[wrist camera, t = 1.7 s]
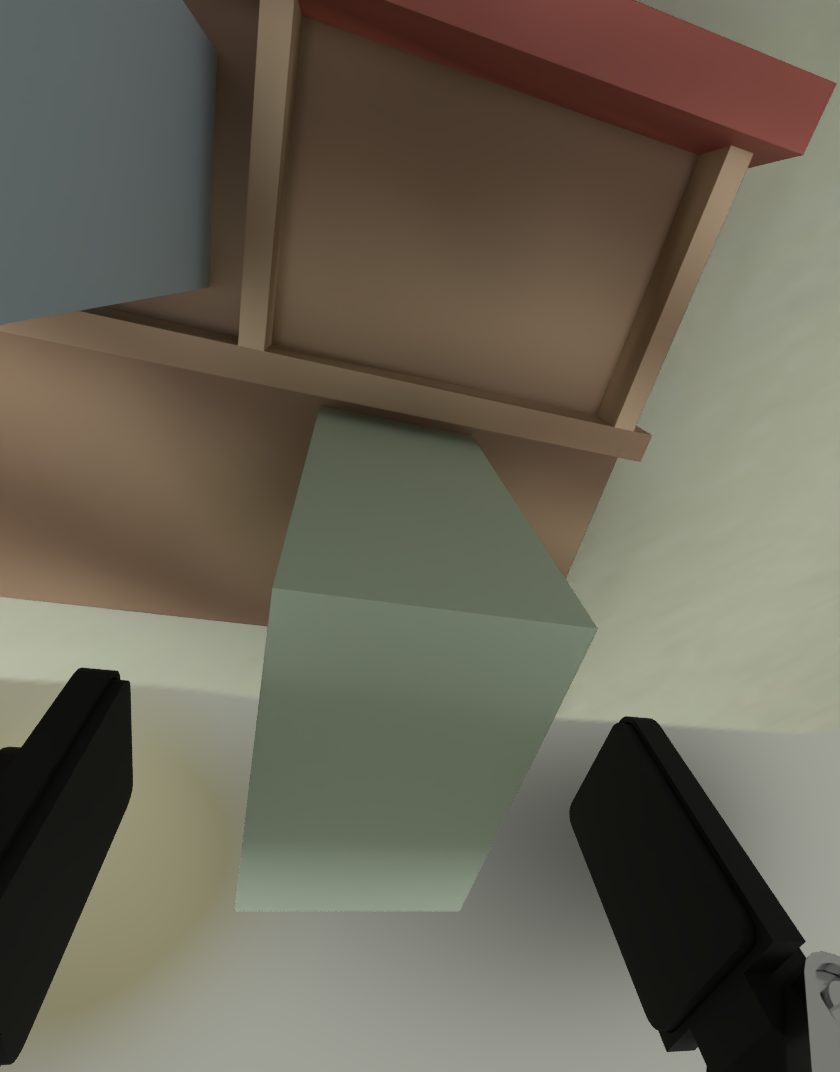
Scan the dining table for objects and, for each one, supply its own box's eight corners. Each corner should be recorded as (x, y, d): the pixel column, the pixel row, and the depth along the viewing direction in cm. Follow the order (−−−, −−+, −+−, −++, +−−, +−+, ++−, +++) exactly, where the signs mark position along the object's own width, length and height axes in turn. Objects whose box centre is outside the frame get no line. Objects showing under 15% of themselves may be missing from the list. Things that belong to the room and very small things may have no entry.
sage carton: (477, 437, 15) (607, 629, 7) (420, 633, 18) (466, 911, 11) (319, 405, 14) (272, 587, 6) (289, 618, 17) (234, 911, 10)
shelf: (-389, -311, 8) (-705, -552, 6) (743, 117, 13) (837, 83, 10) (-124, 566, 16) (-213, 622, 13) (526, 642, 20) (549, 694, 18)
